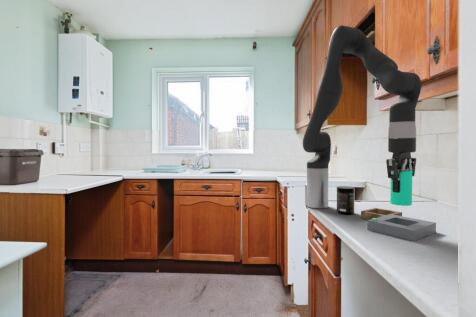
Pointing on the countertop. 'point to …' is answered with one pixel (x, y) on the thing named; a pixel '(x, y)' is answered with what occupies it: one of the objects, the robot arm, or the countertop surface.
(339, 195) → the supplement container
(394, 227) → the frame
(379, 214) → the holder ring
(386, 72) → the robot arm
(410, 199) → the candle
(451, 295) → the countertop surface
